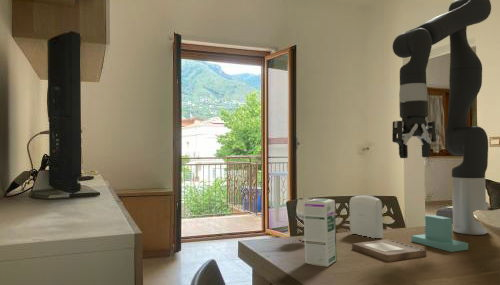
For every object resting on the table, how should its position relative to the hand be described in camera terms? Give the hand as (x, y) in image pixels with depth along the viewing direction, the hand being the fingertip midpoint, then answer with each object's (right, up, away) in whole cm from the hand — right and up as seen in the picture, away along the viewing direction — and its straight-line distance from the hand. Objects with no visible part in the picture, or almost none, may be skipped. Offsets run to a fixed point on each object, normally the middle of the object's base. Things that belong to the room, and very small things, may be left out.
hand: (415, 157), depth 111 cm
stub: (+4, -23, -6) cm, 24 cm away
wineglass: (-30, -24, +3) cm, 39 cm away
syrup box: (-30, -24, -20) cm, 44 cm away
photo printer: (-12, -24, +7) cm, 28 cm away
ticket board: (-12, -23, -12) cm, 29 cm away
